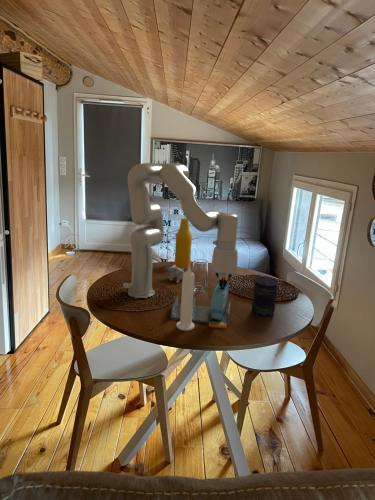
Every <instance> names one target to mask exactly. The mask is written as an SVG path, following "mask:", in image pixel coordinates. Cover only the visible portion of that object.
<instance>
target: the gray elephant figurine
mask: <svg viewBox="0 0 375 500" xmlns="http://www.w3.org/2000/svg"><path fill="white" fill-rule="evenodd" d="M163 271H164V272H168V273H169V281H170V282H173V280H174V279H176V281H175V282H176V284H179V283H180V280H181V279H183V273H185V269H183V268H182V269H180V268H179V267H176V264H173V265H170V266H166V267H165V268H164V270H163Z"/></svg>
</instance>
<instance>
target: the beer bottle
mask: <svg viewBox="0 0 375 500" xmlns="http://www.w3.org/2000/svg"><path fill="white" fill-rule="evenodd" d="M192 238H193V237H192V233H191V230H190V222H189V221H188V219H187V218H186V217H181V218H180V225H179V229H178V231H177V233H176V236H175V250H174V252H175V254H174V264H173V265H175V264H176V267H179V268H180V269H182V268H183V269H184V270H188V267H189V266H190V267H191V256H192V255H191V254H192V242H193V241H192V240H193V239H192Z"/></svg>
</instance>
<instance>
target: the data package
mask: <svg viewBox="0 0 375 500" xmlns="http://www.w3.org/2000/svg"><path fill="white" fill-rule="evenodd" d="M229 287H230V286H229V284H227V285H226V287H225V288H224V290H223V287H222V289H220V288H221V286H219V283H218V284H217V285H216V286H215V288H214V290H213V292H212V298H211V299H212V306H211V316H210V318H211V319H216V320H222V318H223V316H224V314H225V311H226V309H228V308H227V306H228V297H229V290H230V288H229Z"/></svg>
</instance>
